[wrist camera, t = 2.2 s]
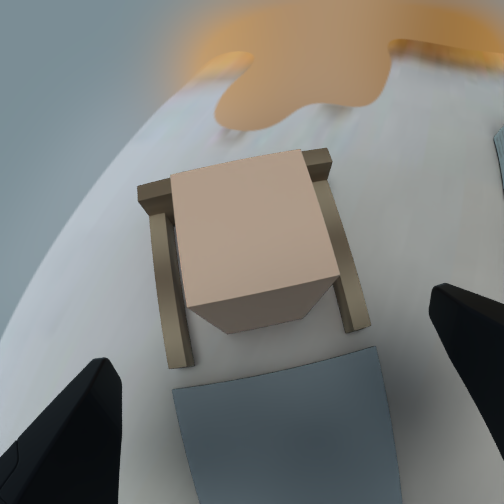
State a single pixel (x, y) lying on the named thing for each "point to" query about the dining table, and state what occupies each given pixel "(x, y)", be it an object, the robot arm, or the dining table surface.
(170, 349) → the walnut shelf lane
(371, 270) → the dining table surface
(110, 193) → the dining table surface
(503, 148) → the supplement box
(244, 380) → the slate rubber mat
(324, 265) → the peach block
